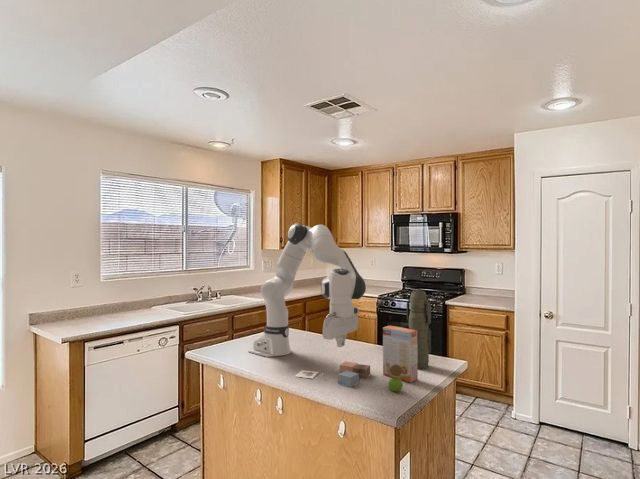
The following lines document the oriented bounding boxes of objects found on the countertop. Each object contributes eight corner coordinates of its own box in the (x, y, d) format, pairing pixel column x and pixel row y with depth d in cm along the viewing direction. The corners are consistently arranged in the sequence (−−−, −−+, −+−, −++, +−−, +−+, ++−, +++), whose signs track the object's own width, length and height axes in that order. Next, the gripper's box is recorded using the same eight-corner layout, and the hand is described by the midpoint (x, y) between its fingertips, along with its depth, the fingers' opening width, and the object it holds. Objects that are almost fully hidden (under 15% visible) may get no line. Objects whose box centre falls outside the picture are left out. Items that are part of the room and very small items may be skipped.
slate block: (338, 384, 158) (338, 374, 158) (346, 380, 162) (346, 370, 162) (350, 387, 154) (350, 377, 154) (358, 383, 159) (358, 373, 159)
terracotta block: (339, 374, 169) (339, 365, 169) (345, 370, 175) (345, 361, 175) (352, 376, 167) (352, 367, 167) (357, 372, 172) (357, 363, 172)
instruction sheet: (294, 376, 166) (294, 375, 166) (301, 370, 173) (301, 370, 173) (312, 379, 163) (312, 378, 163) (318, 372, 171) (318, 371, 171)
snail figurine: (386, 387, 153) (386, 357, 153) (403, 389, 151) (403, 358, 151) (385, 392, 148) (384, 361, 148) (402, 394, 146) (402, 363, 146)
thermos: (427, 371, 172) (427, 292, 172) (402, 366, 179) (402, 290, 179) (434, 366, 179) (434, 290, 179) (410, 361, 186) (410, 288, 186)
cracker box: (418, 379, 162) (418, 329, 162) (410, 383, 158) (410, 332, 158) (390, 371, 172) (390, 324, 172) (382, 375, 168) (382, 326, 168)
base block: (352, 377, 166) (352, 368, 166) (356, 372, 171) (356, 363, 171) (366, 379, 163) (366, 369, 163) (370, 374, 169) (370, 365, 169)
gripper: (332, 315, 141) (332, 353, 141) (360, 308, 157) (360, 342, 157) (318, 313, 145) (318, 351, 145) (347, 306, 161) (347, 339, 161)
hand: (340, 346), depth 151 cm, fingers closed
